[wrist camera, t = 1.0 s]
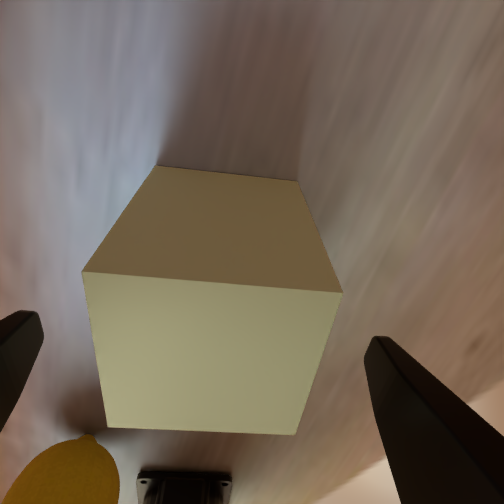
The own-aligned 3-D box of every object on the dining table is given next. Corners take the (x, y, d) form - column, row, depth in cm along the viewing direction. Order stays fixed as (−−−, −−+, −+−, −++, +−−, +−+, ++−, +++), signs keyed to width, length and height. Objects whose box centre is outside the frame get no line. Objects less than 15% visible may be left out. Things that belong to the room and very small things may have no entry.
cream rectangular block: (274, 290, 15) (294, 435, 10) (158, 281, 15) (107, 427, 9) (297, 181, 13) (343, 293, 7) (155, 165, 12) (81, 271, 6)
